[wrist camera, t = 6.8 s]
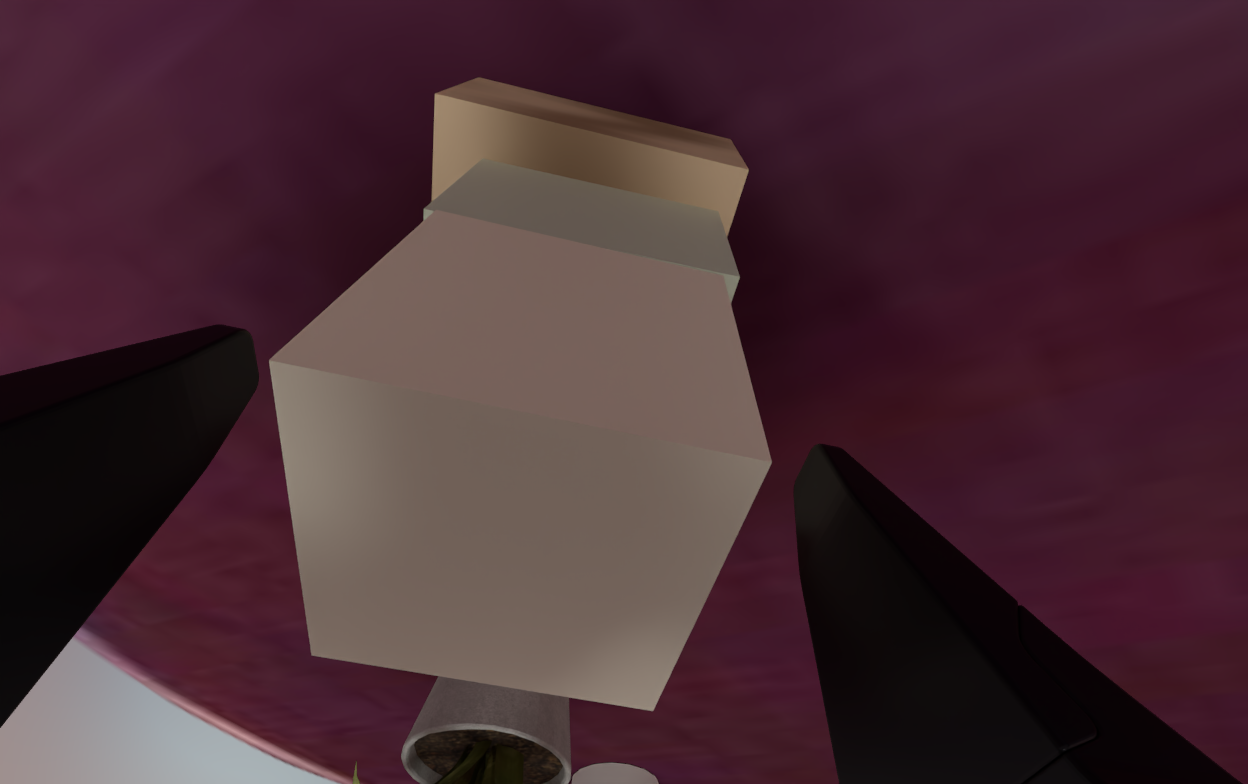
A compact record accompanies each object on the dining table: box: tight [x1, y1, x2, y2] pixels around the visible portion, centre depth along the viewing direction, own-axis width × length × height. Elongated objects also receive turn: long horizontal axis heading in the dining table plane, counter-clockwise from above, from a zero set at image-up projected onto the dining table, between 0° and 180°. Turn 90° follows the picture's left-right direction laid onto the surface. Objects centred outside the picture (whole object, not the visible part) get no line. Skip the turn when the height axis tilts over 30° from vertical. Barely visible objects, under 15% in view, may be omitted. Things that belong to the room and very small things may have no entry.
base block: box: [432, 77, 749, 236], centre depth 16 cm, size 7×7×4 cm
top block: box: [424, 159, 740, 303], centre depth 13 cm, size 6×6×4 cm
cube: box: [269, 210, 772, 711], centre depth 9 cm, size 5×5×5 cm
